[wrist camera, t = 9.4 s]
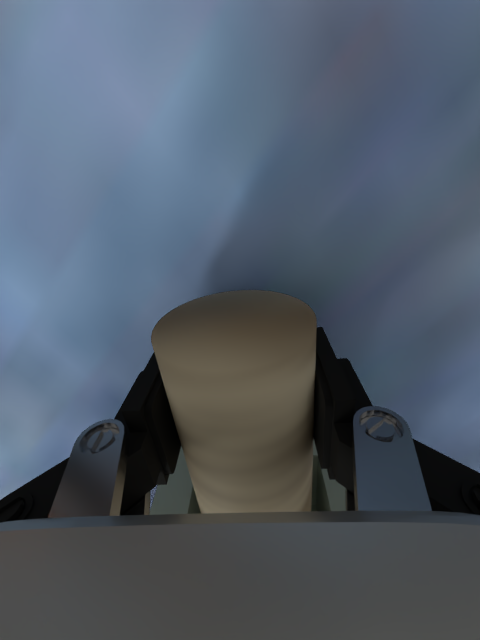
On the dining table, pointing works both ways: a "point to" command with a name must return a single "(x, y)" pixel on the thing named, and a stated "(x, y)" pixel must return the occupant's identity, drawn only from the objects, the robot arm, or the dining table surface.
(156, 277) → the dining table surface
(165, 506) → the block
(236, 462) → the dowel
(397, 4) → the dining table surface
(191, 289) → the dining table surface
